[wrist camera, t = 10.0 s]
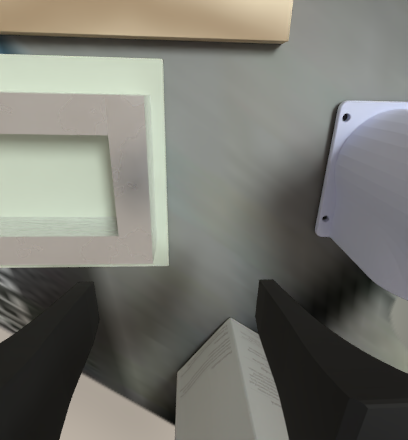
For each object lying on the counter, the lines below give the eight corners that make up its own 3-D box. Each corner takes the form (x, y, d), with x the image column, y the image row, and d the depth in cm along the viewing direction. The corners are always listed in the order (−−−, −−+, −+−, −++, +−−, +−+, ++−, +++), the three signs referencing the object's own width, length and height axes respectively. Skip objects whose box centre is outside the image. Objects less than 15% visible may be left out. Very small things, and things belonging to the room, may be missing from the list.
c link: (157, 241, 22) (152, 263, 19) (-13, 242, 21) (-42, 265, 18) (150, 94, 18) (143, 95, 15) (-60, 89, 17) (-106, 89, 14)
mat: (169, 263, 23) (168, 266, 23) (-19, 265, 22) (-22, 267, 22) (162, 59, 18) (162, 58, 17) (-88, 52, 17) (-95, 51, 16)
